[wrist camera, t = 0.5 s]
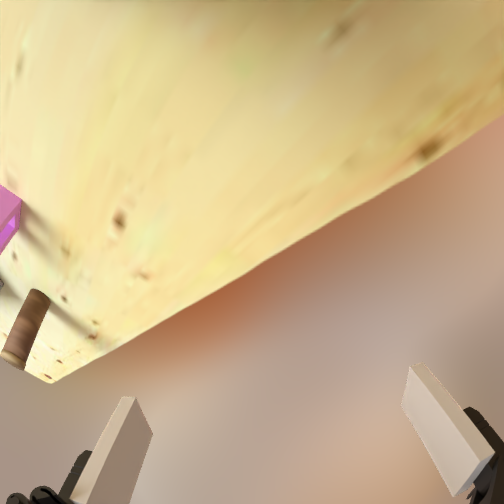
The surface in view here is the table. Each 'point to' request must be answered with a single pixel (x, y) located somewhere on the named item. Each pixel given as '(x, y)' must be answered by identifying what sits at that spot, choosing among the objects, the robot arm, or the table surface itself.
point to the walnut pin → (25, 329)
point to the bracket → (8, 216)
